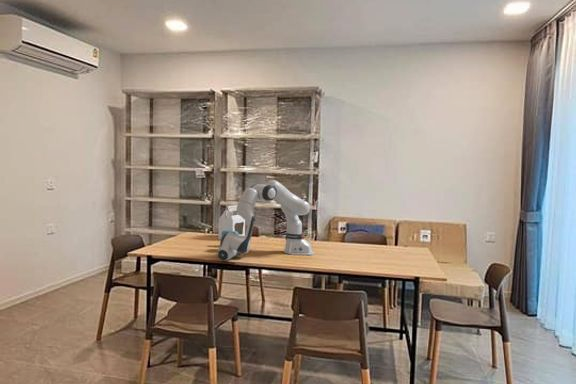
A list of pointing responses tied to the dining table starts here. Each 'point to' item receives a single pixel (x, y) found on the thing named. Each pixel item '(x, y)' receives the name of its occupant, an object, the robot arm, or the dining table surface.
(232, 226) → the gable box
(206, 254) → the dining table surface
